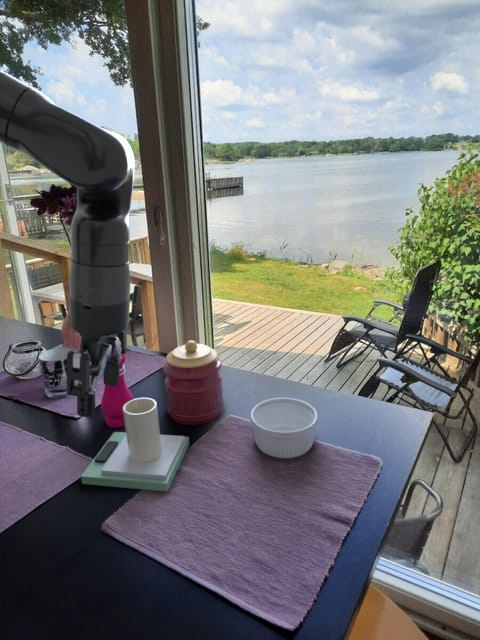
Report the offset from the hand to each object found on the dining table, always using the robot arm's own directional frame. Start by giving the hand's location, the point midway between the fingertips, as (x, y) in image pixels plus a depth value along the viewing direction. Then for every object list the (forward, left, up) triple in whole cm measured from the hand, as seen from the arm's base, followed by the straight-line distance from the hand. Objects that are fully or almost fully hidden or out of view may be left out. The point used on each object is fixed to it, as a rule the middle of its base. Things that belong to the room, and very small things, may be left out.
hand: (99, 399), depth 64 cm
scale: (-2, +14, -22) cm, 27 cm away
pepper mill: (-12, +28, -23) cm, 38 cm away
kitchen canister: (+4, +34, -23) cm, 41 cm away
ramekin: (+25, +24, -23) cm, 41 cm away
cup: (0, +14, -19) cm, 24 cm away
